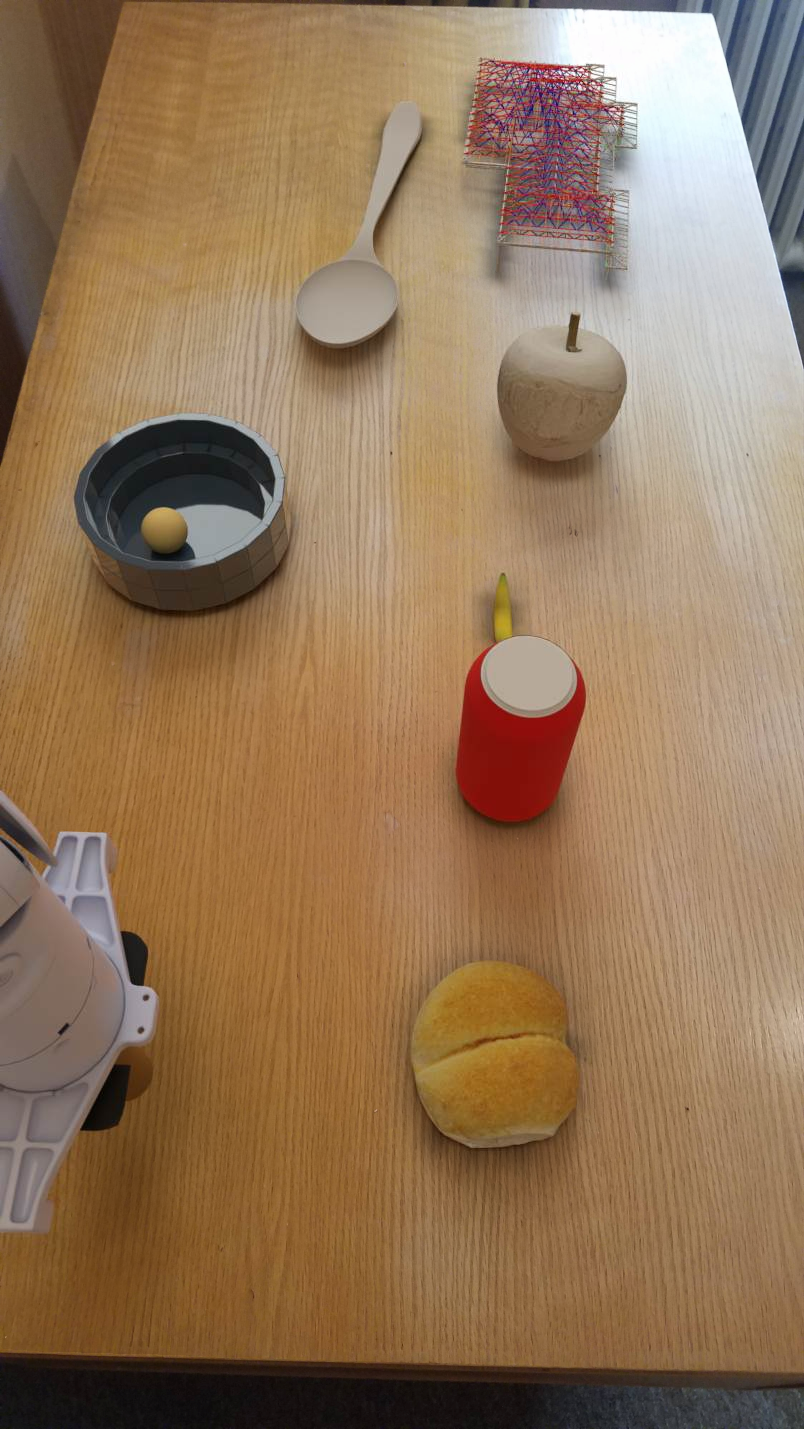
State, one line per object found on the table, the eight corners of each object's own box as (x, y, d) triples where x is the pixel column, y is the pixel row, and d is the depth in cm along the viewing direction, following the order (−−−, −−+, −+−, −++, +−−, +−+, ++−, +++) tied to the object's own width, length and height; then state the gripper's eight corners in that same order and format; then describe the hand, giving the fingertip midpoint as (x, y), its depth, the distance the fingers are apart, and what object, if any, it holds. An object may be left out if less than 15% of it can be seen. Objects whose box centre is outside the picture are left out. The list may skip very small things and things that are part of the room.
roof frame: (630, 294, 83) (643, 236, 78) (445, 278, 84) (448, 220, 79) (634, 91, 98) (645, 33, 93) (477, 80, 99) (481, 21, 94)
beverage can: (524, 721, 63) (549, 604, 52) (578, 802, 60) (616, 696, 49) (436, 761, 61) (444, 649, 51) (487, 846, 58) (507, 747, 48)
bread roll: (551, 961, 55) (562, 937, 52) (586, 1137, 51) (600, 1125, 47) (400, 978, 54) (400, 956, 51) (421, 1158, 50) (423, 1147, 47)
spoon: (381, 376, 77) (382, 348, 75) (280, 362, 78) (278, 333, 76) (449, 134, 96) (451, 105, 94) (366, 124, 97) (366, 95, 94)
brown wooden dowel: (98, 1101, 48) (39, 1060, 40) (107, 1048, 49) (52, 999, 41) (149, 1102, 48) (100, 1062, 40) (156, 1049, 49) (111, 1000, 41)
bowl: (77, 615, 66) (55, 567, 62) (112, 463, 73) (95, 410, 69) (282, 620, 66) (274, 572, 62) (298, 467, 73) (292, 415, 69)
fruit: (492, 586, 68) (496, 557, 65) (509, 586, 68) (514, 558, 65) (494, 675, 64) (498, 648, 62) (512, 675, 64) (517, 648, 62)
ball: (174, 542, 70) (139, 558, 68) (161, 500, 68) (126, 515, 66) (202, 545, 68) (167, 561, 66) (190, 501, 66) (154, 517, 64)
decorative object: (513, 495, 72) (529, 385, 63) (476, 410, 76) (486, 295, 67) (630, 471, 73) (661, 359, 64) (587, 388, 77) (610, 273, 69)
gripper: (87, 1224, 30) (173, 1247, 42) (159, 786, 38) (215, 910, 49) (-149, 1216, 30) (3, 1242, 42) (-31, 781, 38) (71, 906, 49)
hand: (107, 1062), depth 46 cm, fingers closed on brown wooden dowel, 2 cm apart
